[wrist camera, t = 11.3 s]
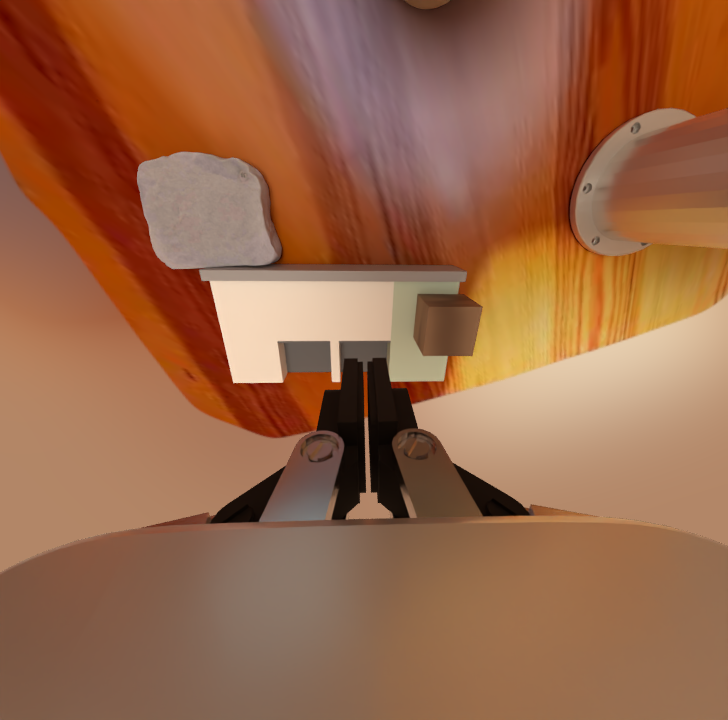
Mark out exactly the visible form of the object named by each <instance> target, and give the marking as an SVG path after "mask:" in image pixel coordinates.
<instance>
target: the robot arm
mask: <svg viewBox="0 0 728 720" xmlns="http://www.w3.org/2000/svg"><path fill="white" fill-rule="evenodd" d="M570 221H571V227H572V230H573V232H574V235H575V237H576V239H577V240H578V241H579V243H580V244H581V245H582V246H583V247H585V248H586V249H587V250H589V251H591V252H593V253H596V254H600V255H606V256H622V255H627V254H631V253H634V252H637V251H640V250H642V249H644V248H646V247H648V246H650V245H651V244H653V243H654V244H668V245H681V246H695V247H708V248H721V249H728V108H726V109H723V110H719V111H716V112H713V113H709V114H706V115H703V116H699V117H695V116H694V115H693V114H691V113H689V112H687V111H685V110H682V109H676V108H665V109H657V110H654V111H651V112H648V113H645V114H642V115H640V116H637V117H635V118H633V119H630V120H629V121H627V122H625V123H624V124H622V125H621V126H619V127H618V128H616V129H615V130H614V131H613V132H612V133H610V134H609V135H608V136H607V137H606V138H605V139H604V140H603V141H602V142H601V143H600V144H599V145H598V146H597V148H596V149H595V150H594V151H593V152H592V154H591V155H590V157H589V158H588V160H587V161H586V163H585V164H584V166H583V168H582V170H581V172H580V174H579V176H578V178H577V180H576V183H575V186H574V189H573V192H572V197H571V203H570ZM367 380H368V428H369V429H368V430H369V453H370V477H371V492H377V495H378V496H377V497H378V503H381V504H382V505H383V506H385V507H386V508H387V509H388V510H389V511H390V519H349V511H350V510H352V508H354V507H355V506H356V505H357V504H358V503H360V493H366V474H365V431H364V430H365V429H364V385H363V362H358V358H344V366H343V375H342V384H341V390H325V392H324V396H323V401H322V406H321V411H320V416H319V421H318V426H317V431H316V432H311V433H309V434H307V435H305V436H304V437H303V438H301V439H300V440H299V442H298V443H297V444H296V446H295V448H294V450H293V452H292V454H291V456H290V458H289V460H288V463H287V465H286V466H285V467H283V468H282V469H280V470H279V471H277V472H276V473H274V474H273V475H271V476H269V477H268V478H266V479H265V480H264V481H262V482H260V483H259V484H257V485H256V486H254V487H253V488H251V489H250V490H248V491H247V492H245V493H244V494H242V495H241V496H239V497H238V498H236V499H235V500H233V501H232V502H230V503H229V504H227V505H226V506H225V507H223V508H222V509H221V510H220V511H219V512H218V513H217V514H216V515H214V516H210V515H209V513H203V514H199V515H195V516H191V517H186V518H182V519H178V520H173V521H169V522H164V523H160V524H156V525H151V526H147V527H142V528H138V529H131V530H124V531H118V532H111V533H106V534H102V535H98V536H94V537H90V538H85V539H81V540H78V541H74V542H71V543H68V544H65V545H62V546H59V547H56V548H54V549H51V550H48V551H45V552H42V553H40V554H37V555H35V556H33V557H30V558H28V559H26V560H24V561H21V562H19V563H17V564H16V565H13V566H11V567H9V568H7V569H6V570H4V571H2V572H0V720H728V546H727V545H724V544H722V543H720V542H717V541H714V540H712V539H709V538H706V537H703V536H701V535H697V534H694V533H690V532H687V531H683V530H679V529H676V528H673V527H669V526H664V525H659V524H654V523H649V522H644V521H638V520H631V519H622V518H612V517H598V516H593V515H587V514H581V513H576V512H571V511H565V510H559V509H554V508H548V507H542V506H537V505H531V506H530V508H524V507H523V506H522V504H520V503H519V502H518V501H516V500H515V499H513V498H512V497H510V496H508V495H507V494H505V493H504V492H502V491H500V490H498V489H497V488H495V487H493V486H491V485H490V484H488V483H486V482H485V481H483V480H481V479H480V478H478V477H476V476H475V475H473V474H471V473H469V472H468V471H466V470H464V469H462V468H461V467H459V466H457V465H456V464H454V463H452V461H451V460H450V458H449V456H448V454H447V453H446V451H445V449H444V448H443V446H442V444H441V442H440V441H439V440H438V438H437V437H436V436H434V435H433V434H431V433H430V432H428V431H425V430H422V429H418V427H417V423H416V419H415V416H414V412H413V408H412V405H411V401H410V397H409V394H408V390H407V388H393V389H392V388H391V383H390V377H389V372H388V366H387V361H386V358H372V361H367Z"/></svg>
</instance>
